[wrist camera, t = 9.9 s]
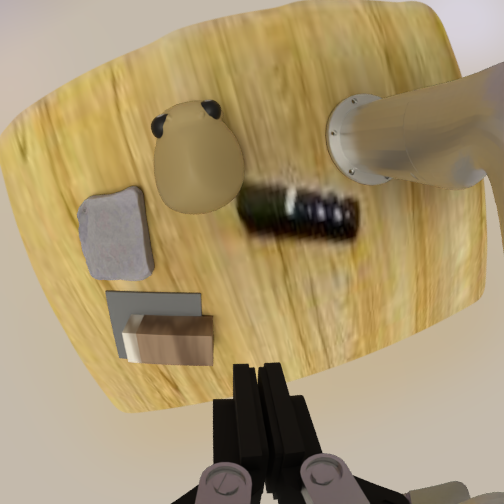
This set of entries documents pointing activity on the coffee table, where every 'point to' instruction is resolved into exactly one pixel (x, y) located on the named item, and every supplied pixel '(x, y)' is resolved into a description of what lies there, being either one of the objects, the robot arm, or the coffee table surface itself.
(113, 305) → the rubber mat
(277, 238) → the coffee table surface
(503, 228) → the robot arm
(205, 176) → the tan rounded figure
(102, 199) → the stone block
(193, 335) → the walnut block
